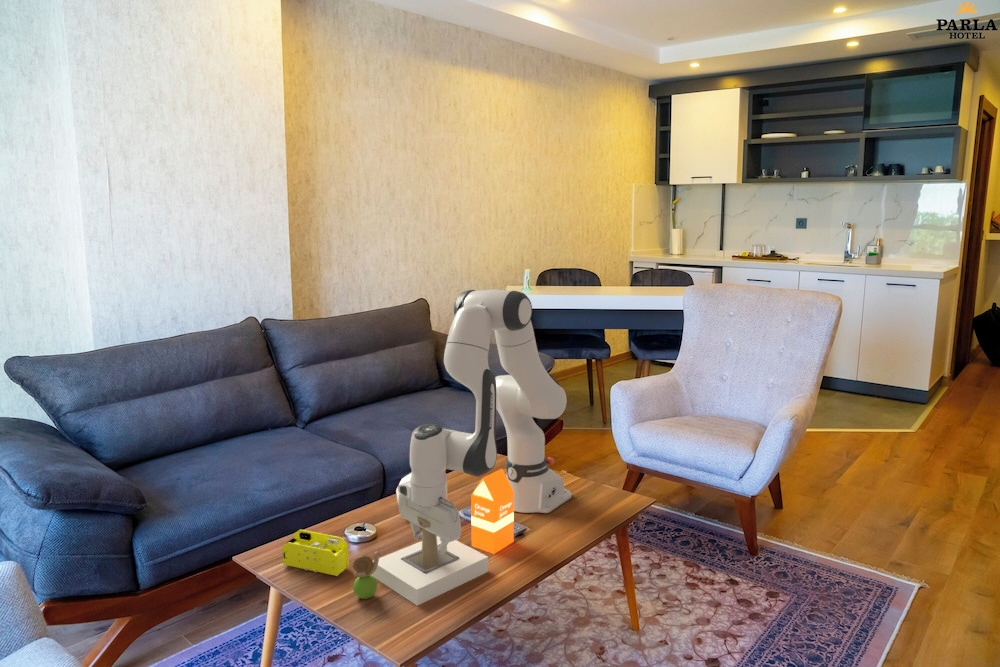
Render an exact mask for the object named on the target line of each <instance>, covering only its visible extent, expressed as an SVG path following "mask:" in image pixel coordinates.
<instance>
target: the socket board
mask: <svg viewBox="0 0 1000 667" xmlns="http://www.w3.org/2000/svg"><path fill="white" fill-rule="evenodd" d="M439 544H441V541H440V537H438V536H437V545H439ZM372 561H373V562H374V560H372ZM487 573H489V556H487V555H486V554H484V553H482V552H480V551H478V550H476V549H474V548H472V547H470V546H468V545H466V544H465V543H463V542H460V541H459V540H458V539H457V540H454V541H452V542H449V543H448V545H447V552H445V553H443V554H442V553H440V552H438V564H437V566H434V567H432V568H430V569H428V570H425V569H423V564H422V540H421V541H418V542H415V543H413V544H411V545H408V546H406V547H403V548H400V549H398V550H396V551H393V552H391V553H389V554H386V555H384V556H382V557H381V556H380V557H379V562H378V566H377V569H376V570H375V572H374V573H372V574H371V576H373V577H374V578H375V580H376V581H378V582H380V583H382V584H383V585H384V586H386V587H388V588H389V589H391V590H393V591H394V592H395V593H397V594H398V595H399V596H402V597H403V598H404V599H406V600H407V601H409V602H411V603H412V604H414V605H415V606H419V605H422V604H424V603H426V602H429V601H430V600H432V599H434V598H436V597H438V596H441V595H443V594H444V593H446V592H448V591H451V590H453V589H455V588H457V587H459V586H462V585H464V584H465V583H468V582H470V581H472V580H474V579H476V578H478V577H481V576H482V575H484V574H487Z"/></svg>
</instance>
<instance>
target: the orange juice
mask: <svg viewBox="0 0 1000 667" xmlns="http://www.w3.org/2000/svg"><path fill="white" fill-rule="evenodd" d="M470 495H471V496H470V497H471V498H470V500H471V501H470V502H471V505H470V508H471V510H470V511H471V512H470V513H471V516H470V518H471V519H470V520H471V522H470V523H471V524H470V526H471V546H472V547H474V548H476V549H479V550H481V551H484V552H487V553H491V554H493V555H495V554H496V553H498V552H500V551H501V550H503V549H505V548H506V547H508V546H509V545H511V544H512V543H514V542H515V540H514V538H515V537H514V534H515V533H514V530H515V528H514V527H515V525H514V522H515V520H514V519H515V516H514V515H515V514H514V513H515V511H514V491H513V489H512V487H511V485H510V483H509V481H508V479H507V477H506V473H505V471H504V469H503V468H500V469H498V470H496V471H494V472H492V473H490V474H488V475H486V476H485V475H484V477H483V476H482V478H481V480H480V481H479V483H478V485H477V486H476V487H475V489H474V491H473V492H472V494H470Z"/></svg>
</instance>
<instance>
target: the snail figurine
mask: <svg viewBox="0 0 1000 667" xmlns="http://www.w3.org/2000/svg"><path fill="white" fill-rule="evenodd" d="M377 550H378V551H375V552H374V554H373V557H374V559H372V557H370V556H368V555H359V556H357V557H356V558H355V559H354V561H353V563H352V568H353V569H354V571H355V572H353V575H354V576H356V578H355V580H354V581H353V586H352V588H353V593H354V594H355V596H356V597H358V598H360V599H362V600H368V599H369V598H371V597H373V596H374V595H375V594H376V592H377V589H378V582H377V579H376V578H374V577H373V576H372V573H374V572H375V570H376V569H377V566H378V562H379V558H381V552H380V550H381V548H380V546H377ZM373 561H374V562H373Z"/></svg>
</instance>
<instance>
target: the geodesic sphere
mask: <svg viewBox="0 0 1000 667" xmlns="http://www.w3.org/2000/svg"><path fill="white" fill-rule="evenodd" d="M411 475H412V472H409V474H407V475H405V476H403V477H402V478H401V480H400V481H399V484H398V485H400V484H402V483H405V482H407V481H410V479H411ZM395 493H396V501H397V503H398V505H399V494H400V493H399V492H398V486H397V488H396V490H395Z"/></svg>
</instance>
